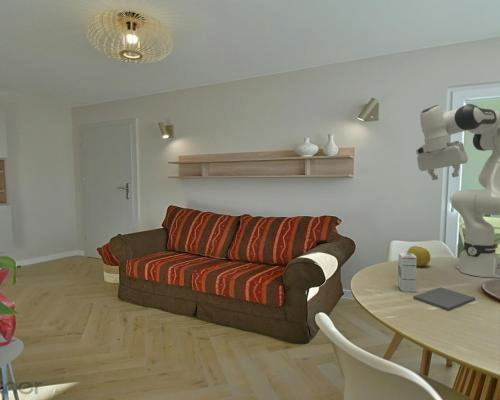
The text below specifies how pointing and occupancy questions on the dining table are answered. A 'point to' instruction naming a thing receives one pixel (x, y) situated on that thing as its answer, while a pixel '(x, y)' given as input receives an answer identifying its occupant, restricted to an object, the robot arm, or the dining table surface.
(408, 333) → the dining table surface
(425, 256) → the fruit
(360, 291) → the dining table surface
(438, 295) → the placemat
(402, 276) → the syrup box
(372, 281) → the dining table surface
